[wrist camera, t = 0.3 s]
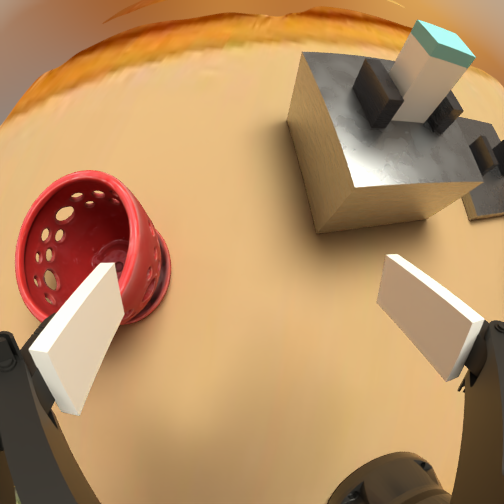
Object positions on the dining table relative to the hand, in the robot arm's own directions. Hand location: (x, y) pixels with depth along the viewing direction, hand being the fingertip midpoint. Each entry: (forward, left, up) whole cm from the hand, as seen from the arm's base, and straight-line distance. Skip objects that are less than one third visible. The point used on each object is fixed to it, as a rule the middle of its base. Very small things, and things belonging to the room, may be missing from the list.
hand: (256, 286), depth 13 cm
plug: (+14, -17, -5) cm, 23 cm away
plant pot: (+5, +13, -17) cm, 22 cm away
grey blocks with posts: (+14, -30, -17) cm, 37 cm away
